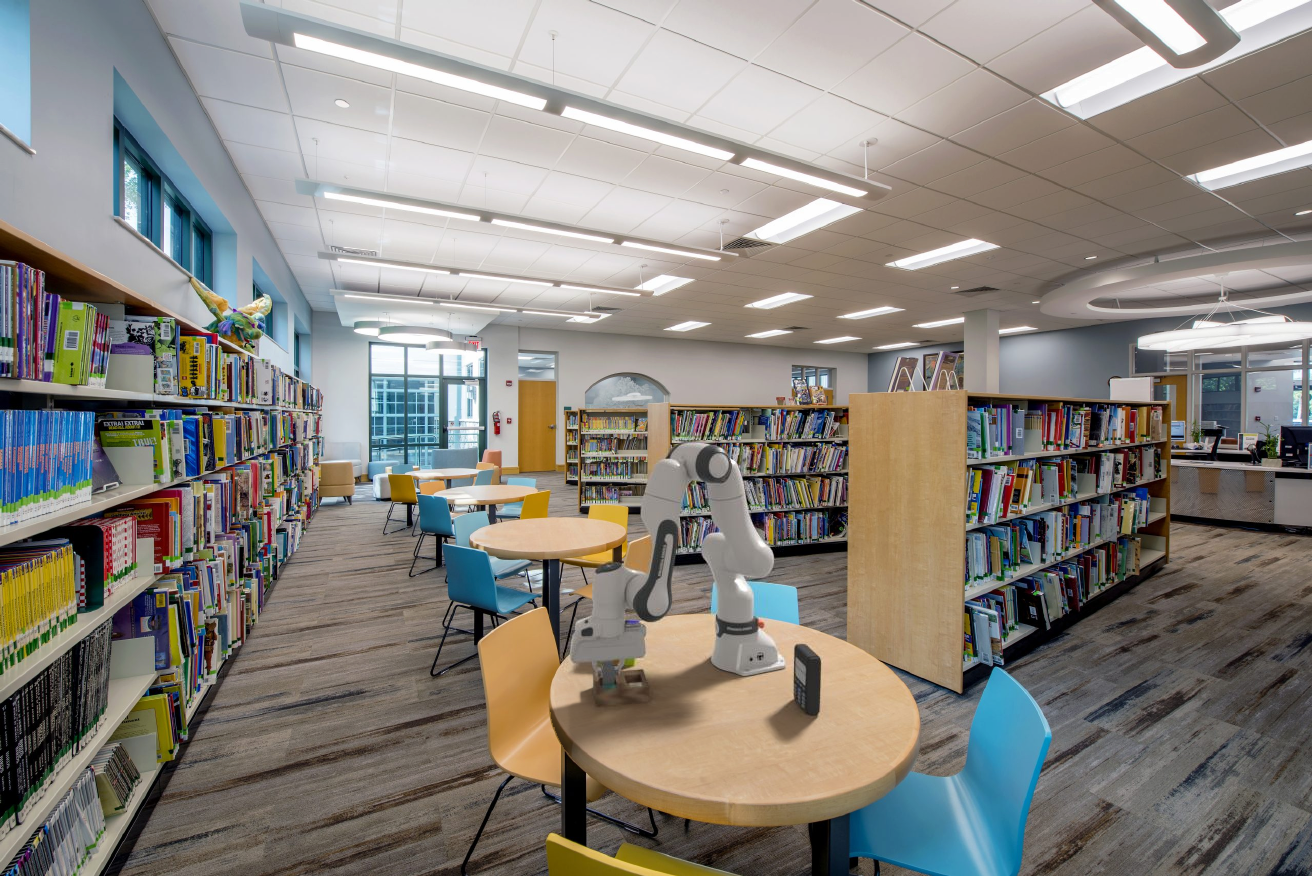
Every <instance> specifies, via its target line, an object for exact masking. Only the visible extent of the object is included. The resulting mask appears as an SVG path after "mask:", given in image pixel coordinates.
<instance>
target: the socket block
mask: <svg viewBox="0 0 1312 876" xmlns="http://www.w3.org/2000/svg"><path fill="white" fill-rule="evenodd" d="M645 673H646V672H645V671H644V669H643V668H641V669H630V670H629V669H628V670H620V675H615V684H614V685H602V673H601V677H596V672H593V673H592V689H593V694H594V700H595V701H594V702H595V707H597V708H598V707H607V706H609V707H610V706H617V705H618V706H619V705H628V704H629V705H630V704H638V703H648V702H650V688H651V687H650V684H649V682H648V679H647V675H646V674H645Z"/></svg>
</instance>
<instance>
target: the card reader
mask: <svg viewBox="0 0 1312 876" xmlns="http://www.w3.org/2000/svg"><path fill="white" fill-rule="evenodd" d="M793 648H794V649H793V698H794V700H795V701H796V703H797V705H799V706H800V707H801V709H802V710H803V711H804V713H806V714H807V715H809V716H815V715H816V716H817V715H818V714H820V709H821V688H822V687H821V686H822V685H821V683H822V680H821V679H822V658H821V657H820V656H819V655H818V654H817V653H816V652H815V651H814V650H813V649H812V648H810V646H809V645H807V644H806V643H797V644H795V646H794V647H793Z"/></svg>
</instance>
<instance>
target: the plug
mask: <svg viewBox="0 0 1312 876" xmlns="http://www.w3.org/2000/svg"><path fill="white" fill-rule="evenodd" d="M601 665H602V667H601V671H602V685H614V684H615V666H616V665H615V664H614V660H613V661H603V664H602V663H601Z"/></svg>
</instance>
